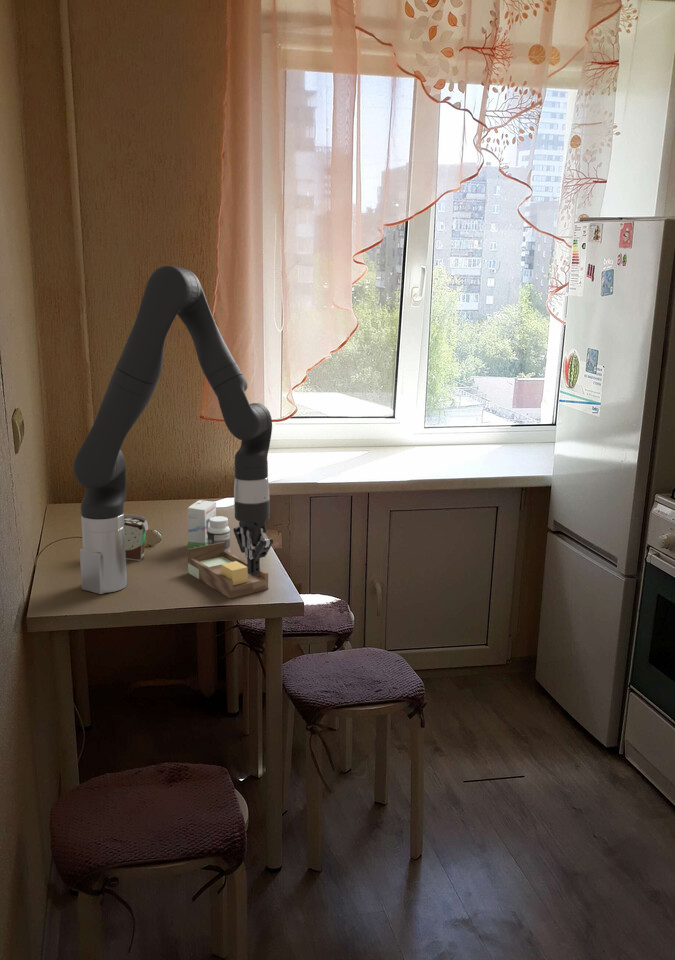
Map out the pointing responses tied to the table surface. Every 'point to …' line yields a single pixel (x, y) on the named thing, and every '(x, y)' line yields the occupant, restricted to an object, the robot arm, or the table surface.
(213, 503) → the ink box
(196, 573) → the pad
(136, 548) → the food container
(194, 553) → the board
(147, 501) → the table surface
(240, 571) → the ochre block
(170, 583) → the table surface
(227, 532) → the pill bottle
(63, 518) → the table surface
